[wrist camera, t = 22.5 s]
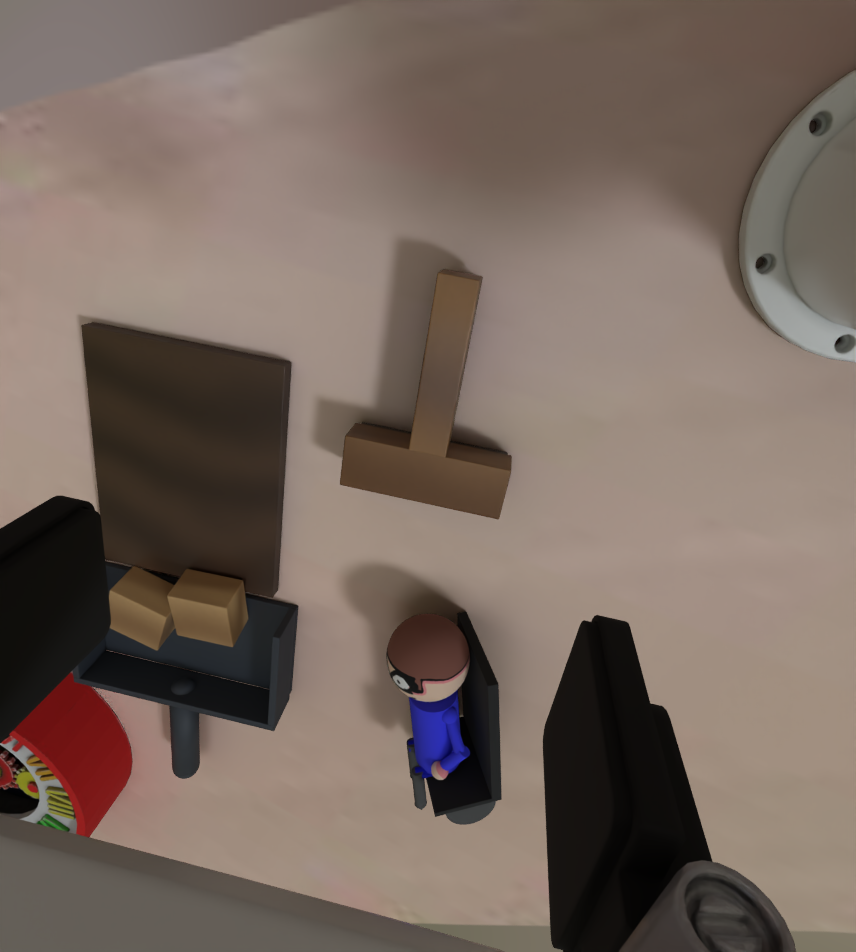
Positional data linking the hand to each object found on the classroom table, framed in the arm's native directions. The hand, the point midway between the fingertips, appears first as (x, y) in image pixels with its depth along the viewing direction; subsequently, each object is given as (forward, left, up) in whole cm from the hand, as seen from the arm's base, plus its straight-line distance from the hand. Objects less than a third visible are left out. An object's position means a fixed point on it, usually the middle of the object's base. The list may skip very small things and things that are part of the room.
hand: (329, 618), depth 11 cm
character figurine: (+22, +4, -22) cm, 32 cm away
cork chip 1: (+20, -17, -22) cm, 34 cm away
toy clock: (+39, -31, -22) cm, 55 cm away
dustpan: (+28, -15, -22) cm, 39 cm away
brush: (+1, 0, -22) cm, 22 cm away
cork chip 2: (+19, -13, -22) cm, 31 cm away
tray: (+10, -15, -22) cm, 29 cm away
